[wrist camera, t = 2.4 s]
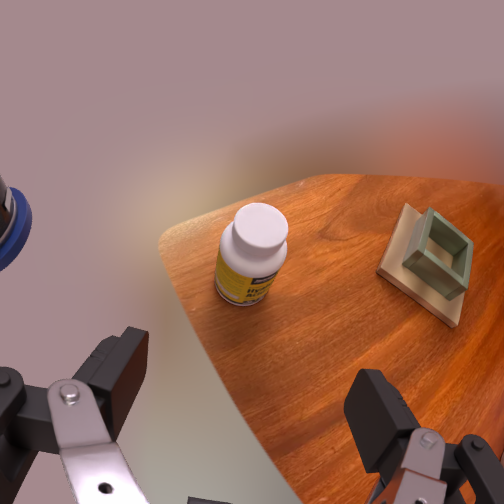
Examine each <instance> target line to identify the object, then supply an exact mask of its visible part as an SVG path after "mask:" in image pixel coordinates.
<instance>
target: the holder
mask: <svg viewBox="0 0 504 504" xmlns="http://www.w3.org/2000/svg"><path fill="white" fill-rule="evenodd" d="M473 245H474V243H473V242H472V241H471V240H470V239H469V238H467V237H466V236H465V235H464V234H463V233H462V232H460V231H459V230H458V229H457V228H456V227H454V226H453V225H452V224H451V223H450V222H448V221H447V220H446V219H445V218H443V217H442V216H441V215H440V214H438V213H437V212H436V211H434V210H433V209H432V208H430V207H429V208H428V209H427V210H426V211H425V212H424V213H423V214H420V213H419V212H418V211H416V210H415V209H414V208H412V207H411V206H409V205H408V204H407V203H406V204H405V205H404V206H403V207H402V210H401V212H400V215H399V218H398V220H397V223H396V225H395V228H394V230H393V233H392V235H391V238H390V240H389V243H388V245H387V247H386V250H385V252H384V254H383V257H382V259H381V261H380V264H379V266H378V268H377V270H376V273H378V274H379V275H381V276H382V277H383V278H385V279H386V280H388V281H389V282H390V283H392V284H393V285H395V286H396V287H397V288H399V289H400V290H402V291H403V292H404V293H406V294H407V295H408V296H410V297H411V298H412V299H414V300H415V301H416V302H418V303H419V304H421V305H422V306H423V307H425V308H426V309H427V310H429V311H430V312H431V313H432V314H434V315H435V316H436V317H438V318H439V319H440V320H442V321H443V322H444V323H446V324H447V325H448V326H449V327H451V328H453V327H455V326H457V325H458V322H459V318H460V313H461V308H462V303H463V298H464V293H465V291H466V290H467V289H468V284H469V277H470V270H471V263H472V254H473Z"/></svg>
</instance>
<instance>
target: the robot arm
mask: <svg viewBox="0 0 504 504" xmlns="http://www.w3.org/2000/svg"><path fill="white" fill-rule="evenodd" d="M17 218H18V205H17V203H16V201H15V199H14V197H13V196H12V192H11V190H10V188H9V186H8V188H7V187H6V185H5V183H4V181H3V179H2V177H1V175H0V248H1V247H2V246H3V245H4V244H5V242H6V241H7V240H8V238H9V237H10V235H11V234H12V232H13V230H14V227H15V225H16V222H17ZM148 341H149V333H148V331H144V330H141V329H137V328H133V327H130V326H129V327H127V329H126V330H125V331H124V333H123V334H122V335H121V337H116V336H113V335H112V336H110V337H108V338H106V339H104V340H102V341H101V342H100V343H99V345H98V346H97V347H96V349H95V350H94V351H93V352H92V353H91V355H90V357H88V358H87V359H86V361H85V362H84V363H83V365H82V366H81V367H80V368H79V370H78V371H77V372H76V373H75V375H74V376H73V377H72V379H62V380H58V381H56V382H54V383H53V384H51V385H50V387H49V388H40V387H34V386H30V385H24V381H23V378H22V376H21V374H20V373H19V372H18V371H16V370H15V369H12V368H9V367H0V504H13V502H14V499H15V497H16V495H17V493H18V491H19V489H20V487H21V485H22V483H23V481H24V479H25V477H26V475H27V472H28V471H29V469H30V467H31V465H32V463H33V461H34V459H35V457H36V455H37V454H38V452H39V451H42V452H47V453H53V454H59V455H60V457H61V461H62V464H63V468H64V471H65V474H66V477H67V480H68V483H69V486H70V488H71V491H72V494H73V497H74V499H75V502H76V504H150V503H149V501H148V499H147V498H146V496H145V494H144V493H143V491H142V489H141V487H140V486H139V484H138V482H137V480H136V478H135V477H134V475H133V473H132V471H131V469H130V467H129V465H128V463H127V461H126V459H125V457H124V455H123V453H122V451H121V449H120V447H119V445H118V444H117V442H116V440H117V437H118V435H119V433H120V431H121V428H122V426H123V424H124V422H125V420H126V418H127V415H128V413H129V411H130V409H131V407H132V404H133V402H134V400H135V398H136V396H137V394H138V391H139V389H140V387H141V385H142V383H143V380H144V378H145V374H146V369H147V355H148ZM344 413H345V416H346V419H347V421H348V424H349V427H350V429H351V432H352V435H353V438H354V440H355V443H356V446H357V448H358V451H359V454H360V457H361V459H362V462H363V465H364V468H365V470H366V473H376V472H379V473H380V476H379V477H378V479H377V480H376V482H375V484H374V486H373V488H372V490H371V492H370V494H369V496H368V498H367V500H366V501H365V503H364V504H466V503H465V501H464V499H463V497H462V495H461V493H460V490H459V488H460V487H461V486H462V485H463V484H464V483H465V482H466V481H467V480H468V481H469V483H470V485H471V487H472V488H473V490H474V492H475V494H476V501H475V504H504V467H503V466H502V464H501V463H500V461H499V460H498V458H497V457H496V455H495V454H494V452H493V451H492V449H491V448H490V446H489V445H488V443H487V442H486V441H485V440H484V439H483V438H481V437H479V436H477V435H473V434H469V435H466V436H464V438H463V439H462V440H461V442H460V443H459V444H458V445H457V444H449V443H445V441H444V439H443V437H442V436H441V435H440V434H439V433H437V432H436V431H434V430H432V429H429V428H421V426H420V425H419V423H418V421H417V420H416V418H415V417H414V415H413V413H412V412H411V410H410V409H409V407H407V404H406V402H405V401H404V400H403V397H402V396H401V394H400V393H399V391H398V390H397V389H396V388H395V387H394V386H392V385H391V384H390V383H389V382H387V380H386V379H385V377H384V375H383V374H382V372H381V371H380V370H374V369H361V370H359V372H358V373H357V376H356V378H355V380H354V382H353V384H352V386H351V388H350V391H349V393H348V395H347V397H346V399H345V402H344ZM187 504H231V503H227V502H219V501H212V500H205V499H199V498H194V497H188V502H187Z"/></svg>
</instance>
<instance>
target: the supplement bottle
mask: <svg viewBox="0 0 504 504" xmlns="http://www.w3.org/2000/svg"><path fill="white" fill-rule="evenodd" d="M287 234H288V224H287V221H286V219H285V217H284V216H283V214H282V213H281V212H280V211H279V210H277V209H276V208H274V207H272V206H270V205H268V204H264V203H251V204H248V205H245V206H244V207H242V208H241V209H240V210H239V211H238V212H237V213H236V215H235V218H234V221H233V222H231V223H230V224H229V225H228V226H227V227H226V229H225V230H224V232H223V234H222V236H221V240H220V245H219V251H218V257H217V264H216V270H215V285H216V288H217V290H218V292H219V294H220V295H221V296H222V297H223V298H224V299H225V300H227V301H228V302H230V303H232V304H235V305H239V306H248V305H252V304H255V303H257V302H258V301H260V300H261V299H262V298H263V297H264V296H265V295H266V293H267V292H268V290H269V288H270V286H271V285H272V283H273V281H274V279H275V277H276V275H277V274H278V272H279V270H280V268H281V267H282V265H283V263H284V260H285V258H286V255H287V243H286V240H285V239H286V237H287Z"/></svg>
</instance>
